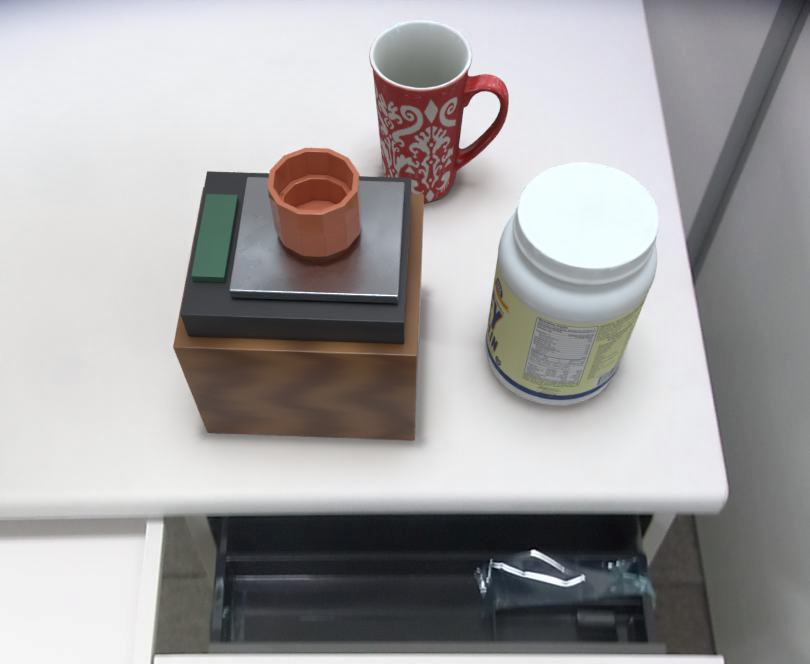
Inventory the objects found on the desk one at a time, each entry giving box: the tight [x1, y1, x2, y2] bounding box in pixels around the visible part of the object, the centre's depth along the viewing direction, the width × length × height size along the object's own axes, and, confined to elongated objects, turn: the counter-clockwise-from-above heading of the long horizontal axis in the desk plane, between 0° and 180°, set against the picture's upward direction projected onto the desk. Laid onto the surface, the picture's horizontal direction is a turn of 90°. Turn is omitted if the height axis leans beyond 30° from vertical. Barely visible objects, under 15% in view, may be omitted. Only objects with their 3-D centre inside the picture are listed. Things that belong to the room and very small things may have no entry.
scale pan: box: [229, 177, 404, 303], centre depth 62 cm, size 12×11×1 cm
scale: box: [180, 170, 412, 344], centre depth 63 cm, size 16×14×3 cm
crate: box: [172, 186, 425, 441], centre depth 70 cm, size 18×16×12 cm
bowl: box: [267, 147, 362, 257], centre depth 60 cm, size 6×6×4 cm
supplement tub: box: [484, 161, 660, 406], centre depth 68 cm, size 12×12×17 cm
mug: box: [368, 19, 510, 203], centre depth 78 cm, size 13×9×14 cm
